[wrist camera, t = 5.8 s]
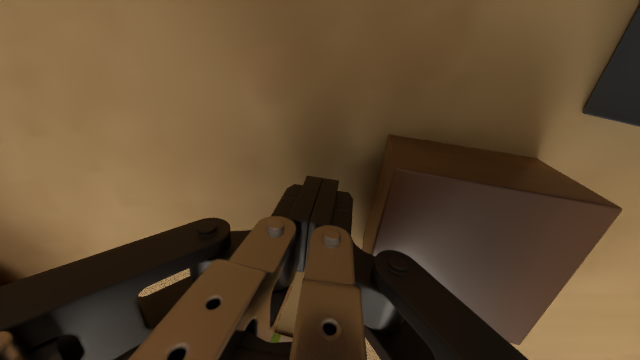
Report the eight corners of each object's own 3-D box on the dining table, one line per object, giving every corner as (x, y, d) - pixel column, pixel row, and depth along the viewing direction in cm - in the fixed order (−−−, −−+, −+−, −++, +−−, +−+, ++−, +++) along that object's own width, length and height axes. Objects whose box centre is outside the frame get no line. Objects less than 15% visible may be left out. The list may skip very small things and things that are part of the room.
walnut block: (362, 241, 14) (358, 304, 10) (388, 134, 11) (394, 167, 7) (479, 267, 13) (519, 346, 9) (537, 158, 10) (625, 208, 7)
